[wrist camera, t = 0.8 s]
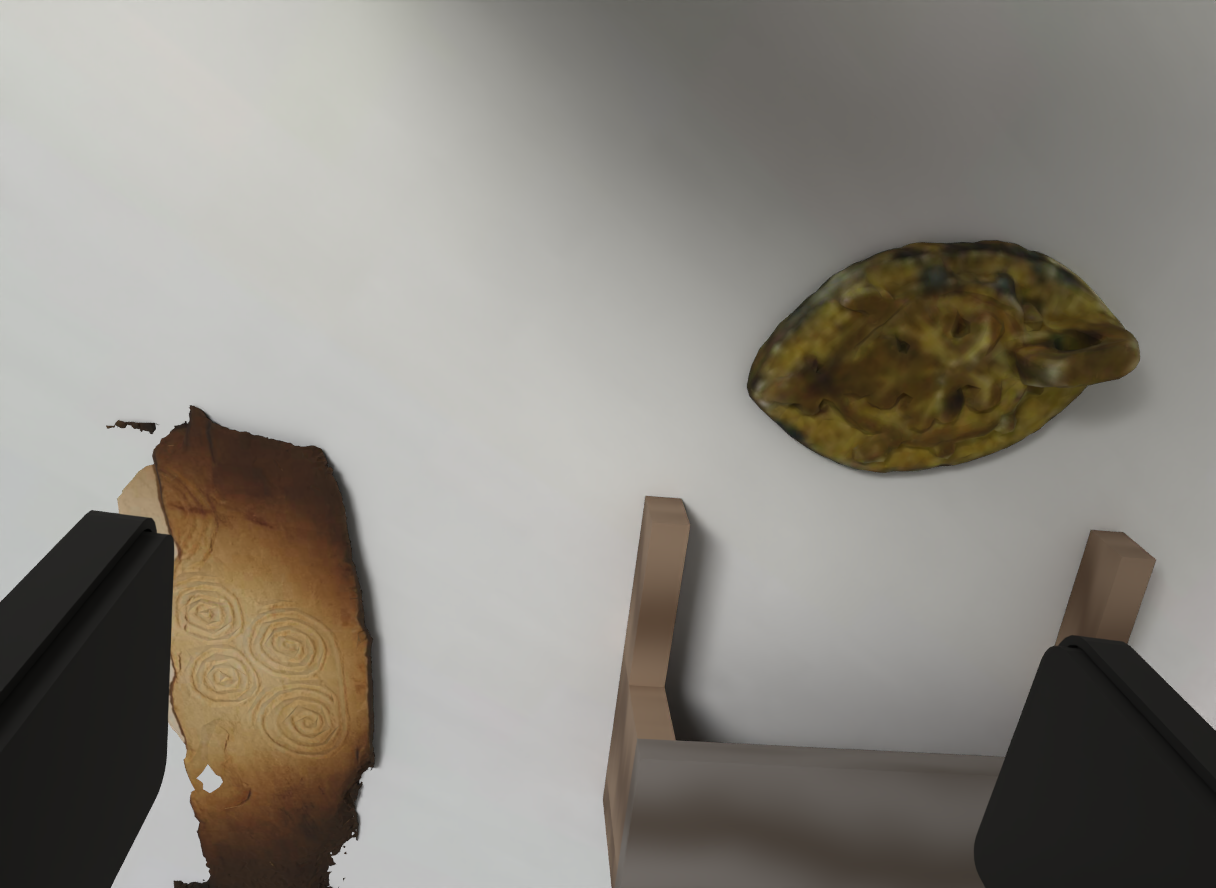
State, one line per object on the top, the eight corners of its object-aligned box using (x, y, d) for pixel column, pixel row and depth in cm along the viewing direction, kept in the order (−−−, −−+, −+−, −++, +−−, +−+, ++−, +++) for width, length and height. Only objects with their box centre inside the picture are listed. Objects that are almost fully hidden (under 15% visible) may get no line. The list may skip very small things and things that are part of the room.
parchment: (106, 404, 40) (96, 412, 39) (364, 412, 40) (360, 420, 39) (176, 894, 49) (170, 908, 48) (385, 895, 49) (382, 909, 49)
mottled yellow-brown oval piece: (754, 481, 44) (1100, 413, 44) (779, 542, 40) (1161, 467, 40) (727, 277, 40) (1112, 199, 39) (752, 322, 35) (1183, 235, 35)
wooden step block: (645, 496, 42) (667, 581, 36) (1123, 532, 45) (1228, 619, 38) (603, 799, 48) (614, 922, 41) (1030, 817, 50) (1107, 937, 43)
